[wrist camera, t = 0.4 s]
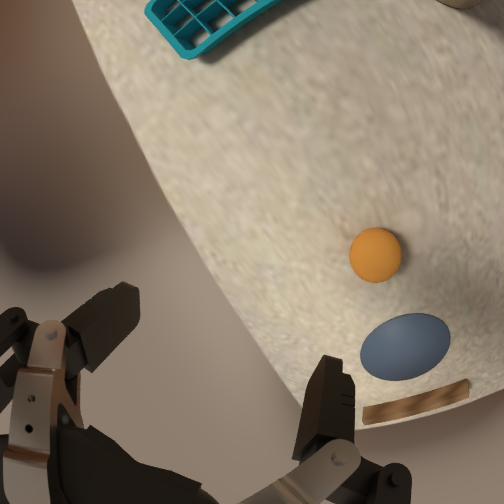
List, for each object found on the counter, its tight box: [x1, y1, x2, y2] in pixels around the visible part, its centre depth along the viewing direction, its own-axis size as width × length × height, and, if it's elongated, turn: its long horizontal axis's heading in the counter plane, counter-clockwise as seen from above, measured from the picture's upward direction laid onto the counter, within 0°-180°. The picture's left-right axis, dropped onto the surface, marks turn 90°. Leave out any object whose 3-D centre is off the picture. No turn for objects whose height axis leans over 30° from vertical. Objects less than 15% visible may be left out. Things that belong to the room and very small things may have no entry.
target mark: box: [360, 313, 450, 381], centre depth 32 cm, size 14×14×1 cm
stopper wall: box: [362, 379, 469, 425], centre depth 35 cm, size 20×2×3 cm, turn 121°
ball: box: [349, 228, 401, 283], centre depth 25 cm, size 6×6×6 cm
